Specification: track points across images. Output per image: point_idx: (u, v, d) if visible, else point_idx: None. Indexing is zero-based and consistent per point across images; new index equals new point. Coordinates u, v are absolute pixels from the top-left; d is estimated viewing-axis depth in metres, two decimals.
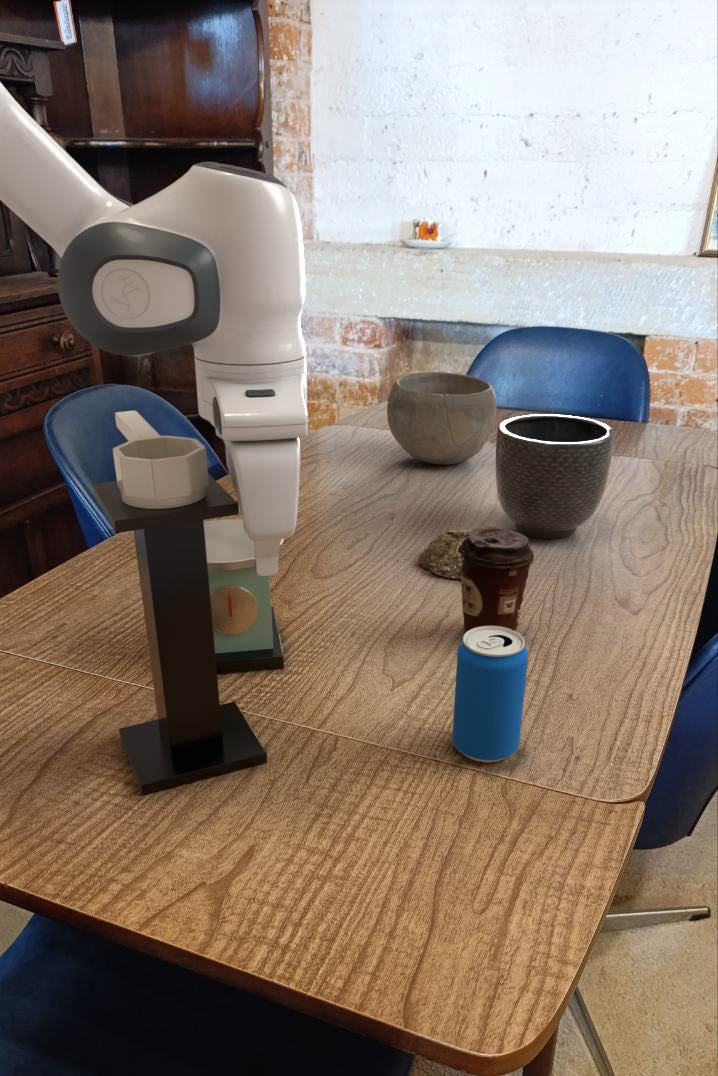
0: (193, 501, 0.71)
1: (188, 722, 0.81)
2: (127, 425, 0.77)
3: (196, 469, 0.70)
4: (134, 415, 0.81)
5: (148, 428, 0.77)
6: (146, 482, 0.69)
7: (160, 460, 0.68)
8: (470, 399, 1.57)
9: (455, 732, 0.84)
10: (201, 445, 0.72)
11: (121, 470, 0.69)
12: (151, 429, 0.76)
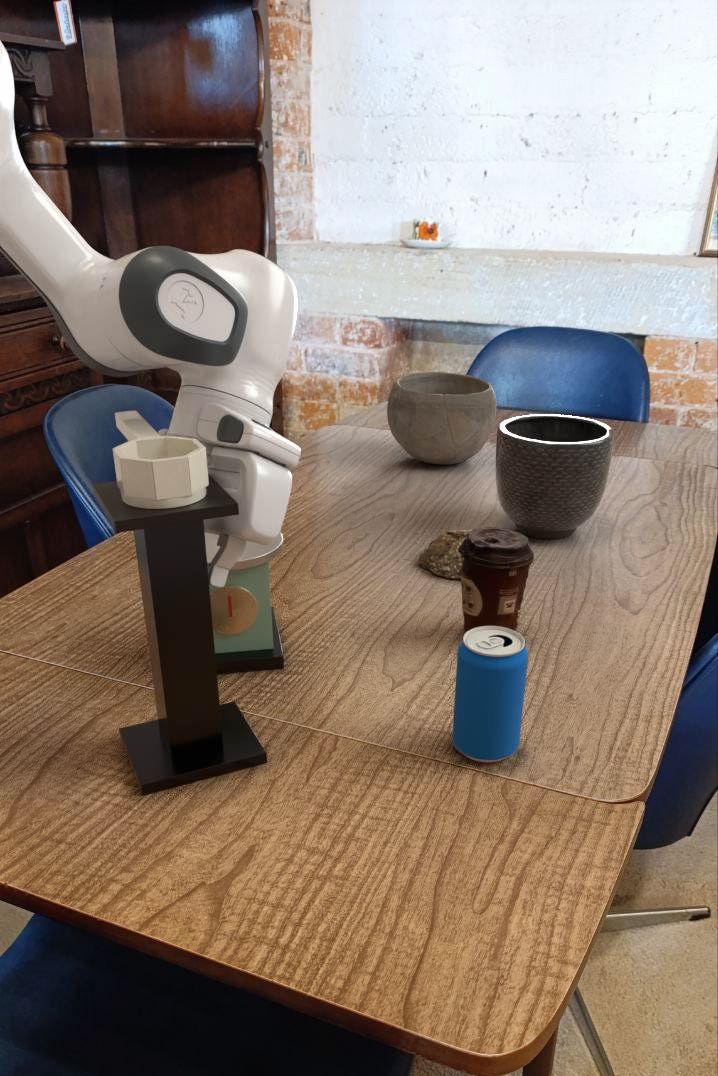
0: (193, 501, 0.71)
1: (188, 722, 0.81)
2: (127, 425, 0.77)
3: (196, 469, 0.70)
4: (134, 415, 0.81)
5: (148, 428, 0.77)
6: (146, 482, 0.69)
7: (160, 460, 0.68)
8: (470, 399, 1.57)
9: (455, 732, 0.84)
10: (201, 445, 0.72)
11: (121, 470, 0.69)
12: (151, 429, 0.76)
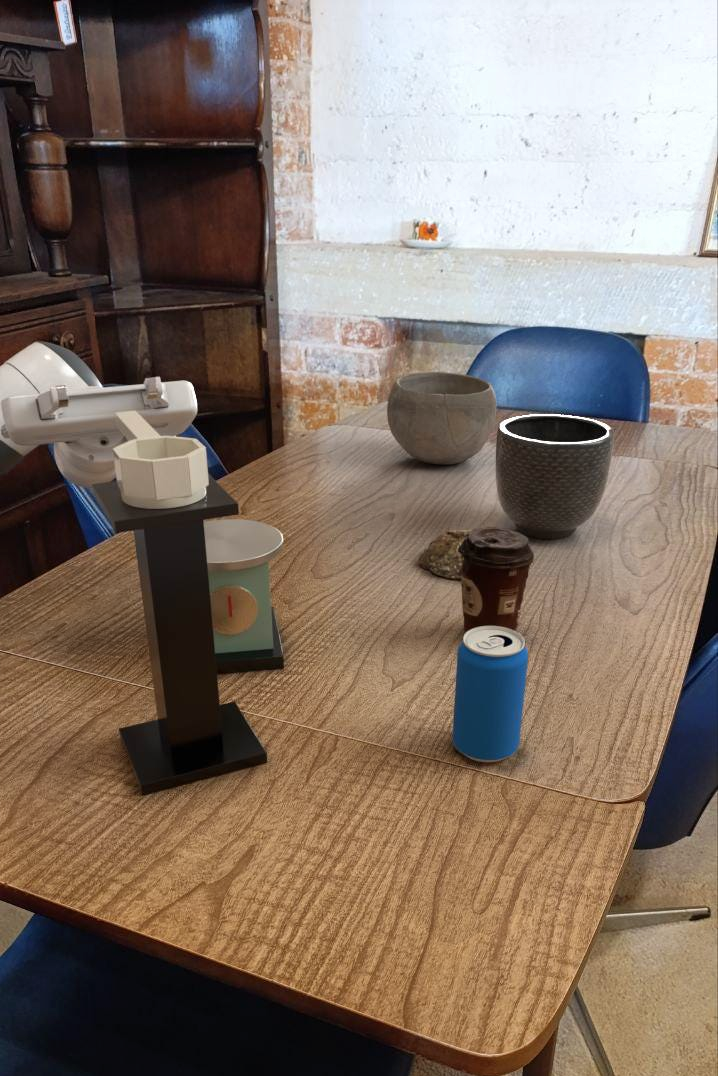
0: (193, 501, 0.71)
1: (188, 722, 0.81)
2: (127, 425, 0.77)
3: (196, 469, 0.70)
4: (134, 415, 0.81)
5: (148, 428, 0.77)
6: (146, 482, 0.69)
7: (160, 460, 0.68)
8: (470, 399, 1.57)
9: (455, 732, 0.84)
10: (201, 445, 0.72)
11: (121, 470, 0.69)
12: (151, 429, 0.76)
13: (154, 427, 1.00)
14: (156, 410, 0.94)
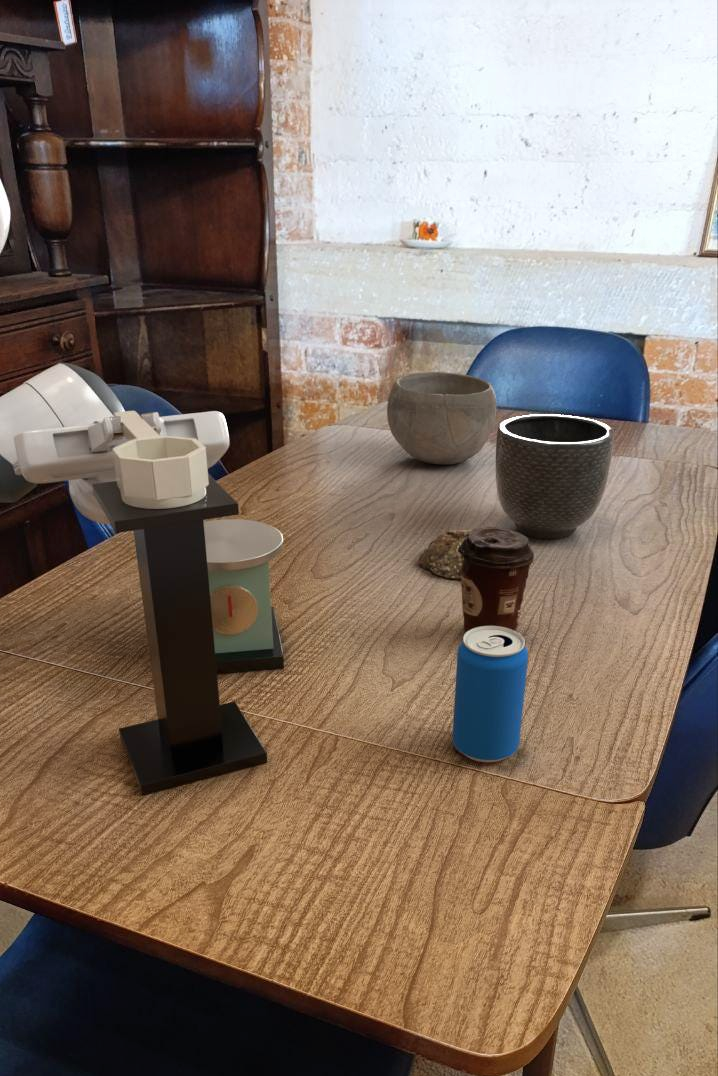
0: (193, 501, 0.71)
1: (188, 722, 0.81)
2: (126, 425, 0.77)
3: (196, 469, 0.71)
4: (133, 415, 0.81)
5: (147, 428, 0.77)
6: (146, 482, 0.69)
7: (160, 460, 0.68)
8: (470, 399, 1.57)
9: (455, 732, 0.84)
10: (201, 445, 0.72)
11: (121, 470, 0.69)
12: (150, 429, 0.76)
13: None
14: None
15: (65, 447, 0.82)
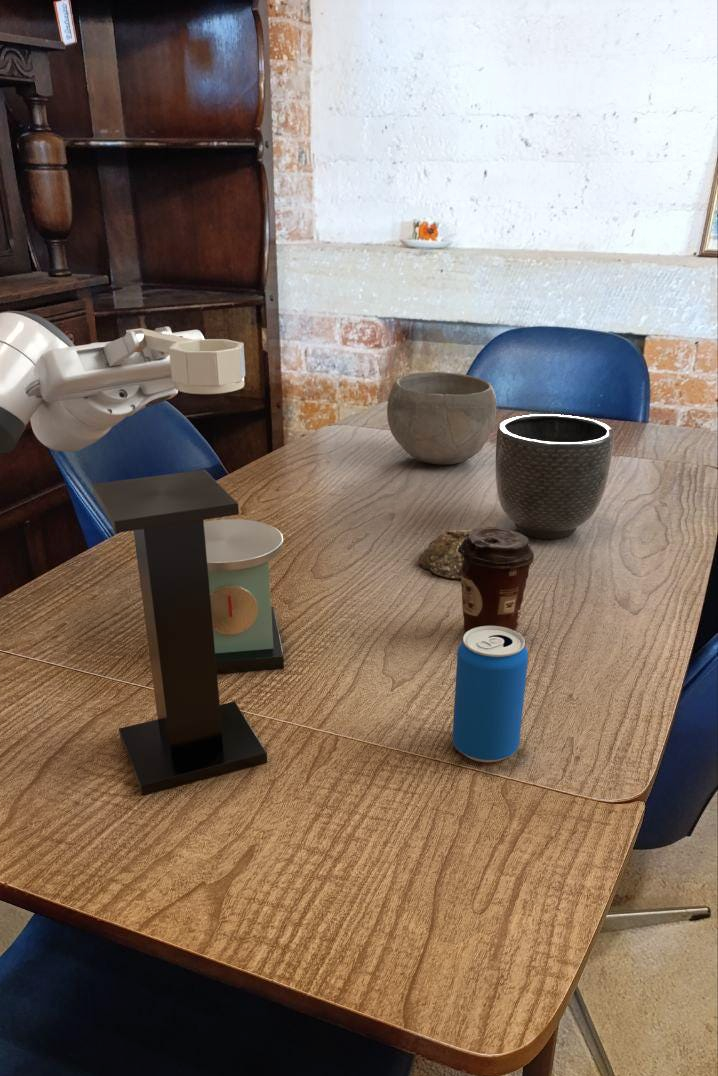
0: (241, 387, 0.88)
1: (188, 722, 0.81)
2: (153, 336, 0.92)
3: (242, 360, 0.87)
4: (147, 330, 0.94)
5: (175, 336, 0.91)
6: (210, 370, 0.85)
7: (221, 350, 0.84)
8: (470, 399, 1.57)
9: (455, 732, 0.84)
10: (238, 342, 0.89)
11: (186, 363, 0.85)
12: (178, 336, 0.91)
13: (164, 378, 1.05)
14: None
15: (86, 362, 0.94)
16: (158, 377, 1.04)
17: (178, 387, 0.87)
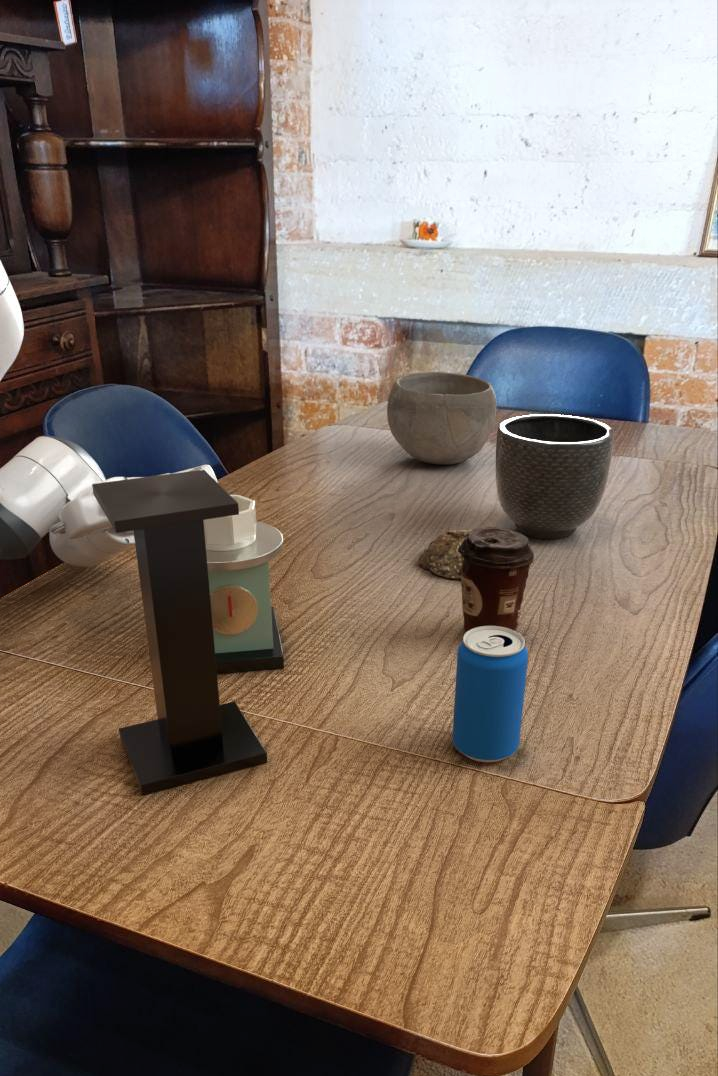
0: (253, 541, 0.97)
1: (188, 722, 0.81)
2: None
3: (254, 517, 0.96)
4: None
5: None
6: (226, 531, 0.94)
7: None
8: (470, 399, 1.57)
9: (455, 732, 0.84)
10: (249, 499, 0.98)
11: (204, 525, 0.94)
12: None
13: None
14: None
15: None
16: None
17: None
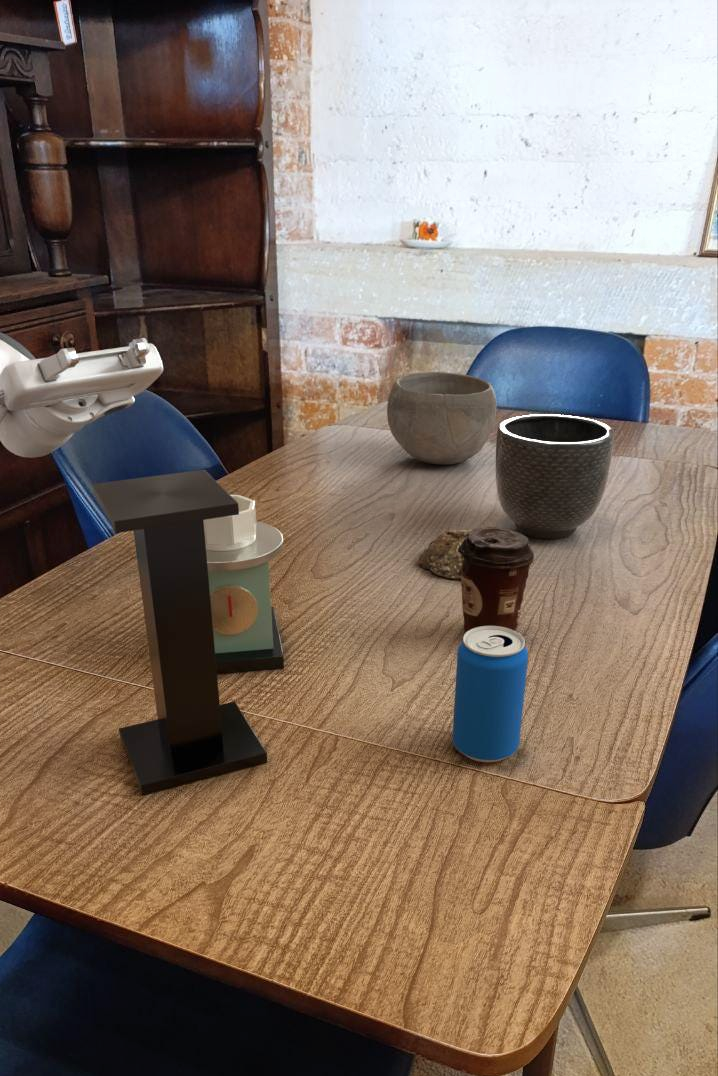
0: (253, 541, 0.97)
1: (188, 722, 0.81)
2: None
3: (254, 517, 0.96)
4: None
5: None
6: (226, 531, 0.94)
7: None
8: (470, 399, 1.57)
9: (455, 732, 0.84)
10: (249, 499, 0.98)
11: (204, 525, 0.94)
12: None
13: (121, 388, 1.13)
14: (134, 369, 1.08)
15: None
16: (115, 387, 1.12)
17: None
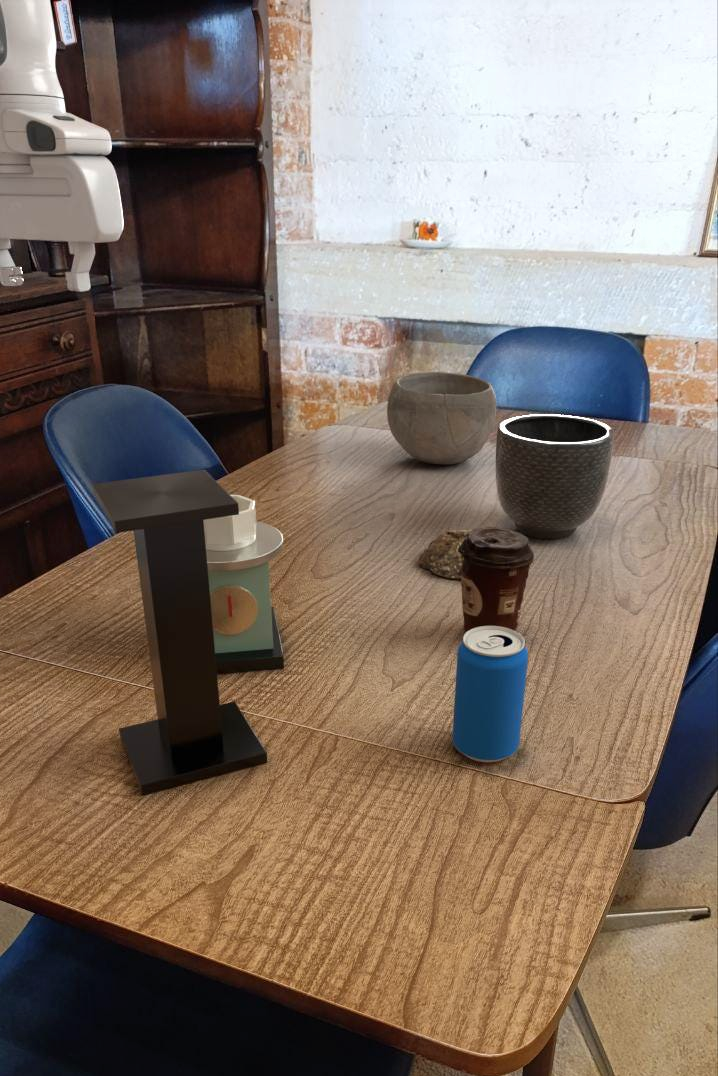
0: (253, 541, 0.97)
1: (188, 722, 0.81)
2: None
3: (254, 517, 0.96)
4: None
5: None
6: (226, 531, 0.94)
7: None
8: (470, 399, 1.57)
9: (455, 732, 0.84)
10: (249, 499, 0.98)
11: (204, 525, 0.94)
12: None
13: None
14: None
15: None
16: None
17: None
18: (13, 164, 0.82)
